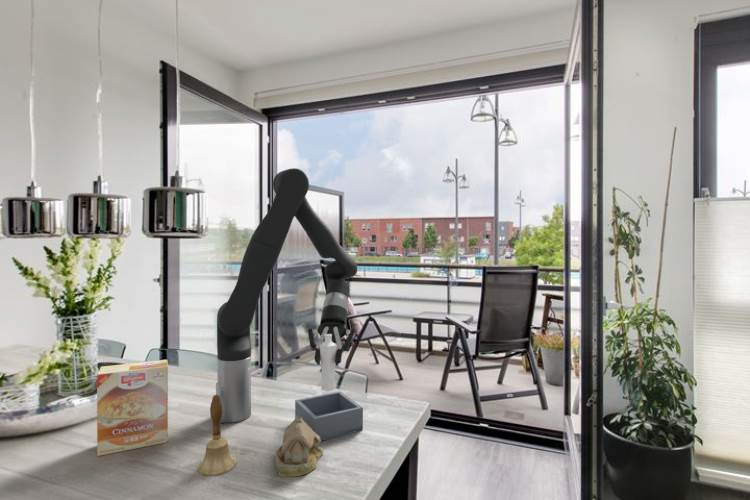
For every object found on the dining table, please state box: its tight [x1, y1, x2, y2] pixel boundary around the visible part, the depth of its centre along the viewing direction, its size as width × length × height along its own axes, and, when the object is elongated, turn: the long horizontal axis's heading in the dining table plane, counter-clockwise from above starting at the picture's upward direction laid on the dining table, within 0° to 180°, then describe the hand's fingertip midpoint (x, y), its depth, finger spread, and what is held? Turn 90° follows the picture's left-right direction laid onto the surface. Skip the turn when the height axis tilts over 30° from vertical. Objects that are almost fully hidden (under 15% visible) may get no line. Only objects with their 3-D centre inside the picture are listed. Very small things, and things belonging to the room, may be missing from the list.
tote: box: [294, 390, 364, 442], centre depth 113 cm, size 14×14×6 cm
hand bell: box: [197, 394, 238, 477], centre depth 93 cm, size 8×8×16 cm
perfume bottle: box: [320, 334, 338, 392], centre depth 113 cm, size 5×4×15 cm
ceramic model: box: [274, 416, 324, 477], centre depth 95 cm, size 14×11×10 cm
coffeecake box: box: [96, 359, 169, 457], centre depth 102 cm, size 15×7×20 cm, turn 117°
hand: (327, 363), depth 111 cm, fingers closed on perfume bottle, 4 cm apart
